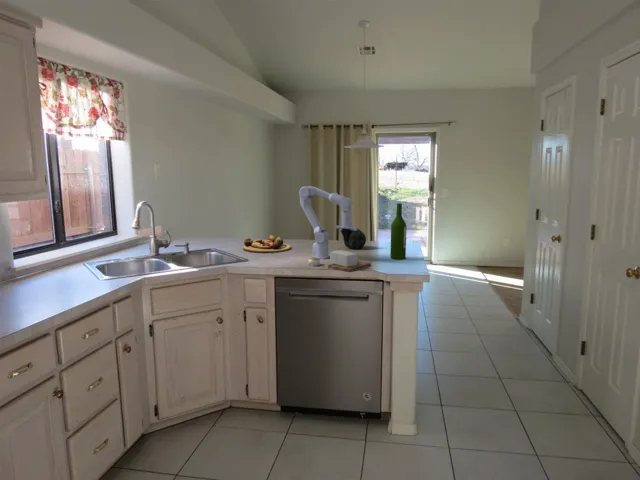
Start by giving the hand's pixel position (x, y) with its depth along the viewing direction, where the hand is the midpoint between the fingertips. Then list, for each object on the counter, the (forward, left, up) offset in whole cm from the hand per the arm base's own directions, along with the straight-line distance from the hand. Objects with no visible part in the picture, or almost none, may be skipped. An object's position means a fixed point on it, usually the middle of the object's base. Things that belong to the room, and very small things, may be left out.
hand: (346, 241), depth 265 cm
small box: (+4, -16, -6) cm, 17 cm away
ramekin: (-4, -24, -10) cm, 27 cm away
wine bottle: (+22, +22, -11) cm, 33 cm away
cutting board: (+14, -15, -10) cm, 23 cm away
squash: (-18, +33, -11) cm, 39 cm away
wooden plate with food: (-62, -6, -11) cm, 63 cm away
